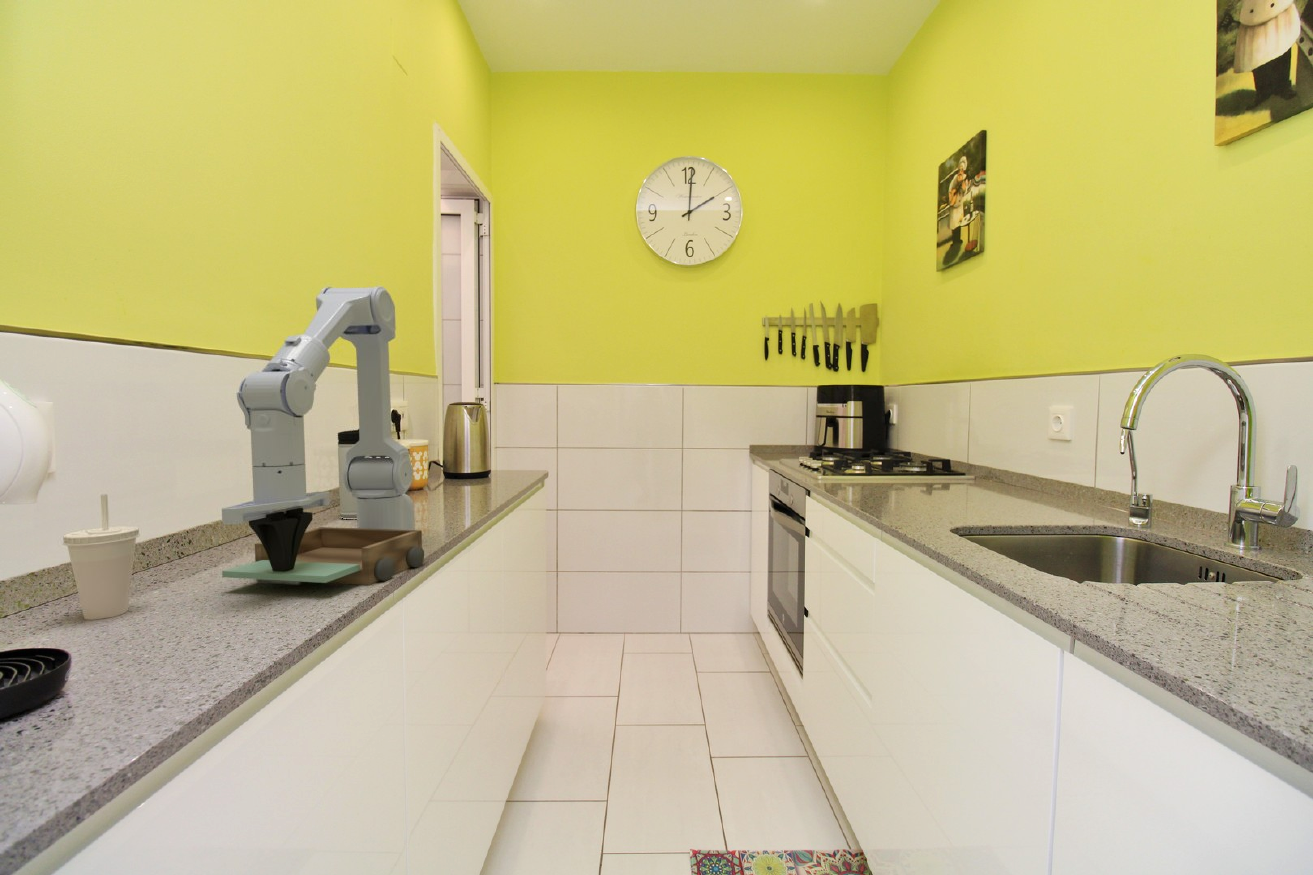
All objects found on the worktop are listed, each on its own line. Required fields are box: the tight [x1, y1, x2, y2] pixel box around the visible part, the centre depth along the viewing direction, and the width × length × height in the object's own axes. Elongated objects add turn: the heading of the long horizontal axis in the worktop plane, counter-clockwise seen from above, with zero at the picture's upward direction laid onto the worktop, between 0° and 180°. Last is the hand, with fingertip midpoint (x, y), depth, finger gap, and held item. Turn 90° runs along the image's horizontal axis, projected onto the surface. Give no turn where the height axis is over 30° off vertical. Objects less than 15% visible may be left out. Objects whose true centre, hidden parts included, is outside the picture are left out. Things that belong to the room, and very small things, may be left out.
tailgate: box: [221, 560, 360, 586], centre depth 76 cm, size 2×15×6 cm
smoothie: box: [62, 493, 140, 620], centre depth 66 cm, size 6×6×14 cm
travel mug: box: [337, 428, 371, 518], centre depth 129 cm, size 6×7×20 cm
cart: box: [254, 526, 425, 586], centre depth 84 cm, size 12×20×5 cm, turn 79°
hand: (283, 569), depth 74 cm, fingers closed
